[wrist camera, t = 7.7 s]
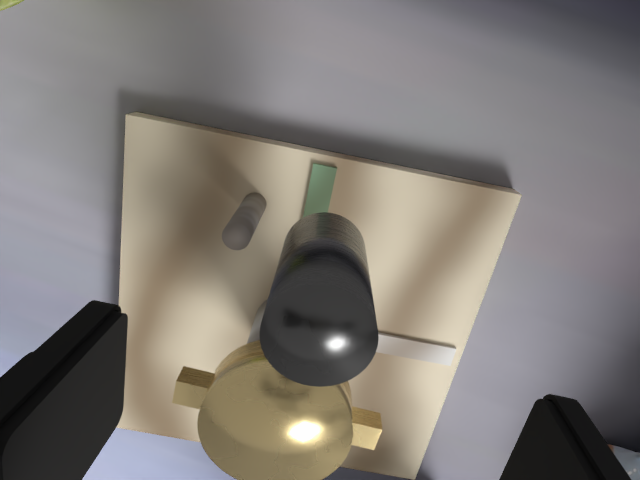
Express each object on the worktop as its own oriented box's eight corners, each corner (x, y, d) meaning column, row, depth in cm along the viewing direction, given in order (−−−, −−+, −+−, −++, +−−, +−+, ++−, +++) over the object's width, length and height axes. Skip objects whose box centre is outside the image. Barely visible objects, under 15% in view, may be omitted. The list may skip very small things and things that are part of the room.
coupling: (218, 182, 17) (161, 242, 11) (448, 243, 18) (499, 329, 12) (172, 429, 21) (114, 558, 16) (356, 471, 22) (362, 611, 16)
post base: (513, 188, 24) (579, 236, 18) (412, 465, 31) (431, 570, 25) (135, 111, 23) (57, 131, 17) (122, 413, 31) (64, 509, 24)
